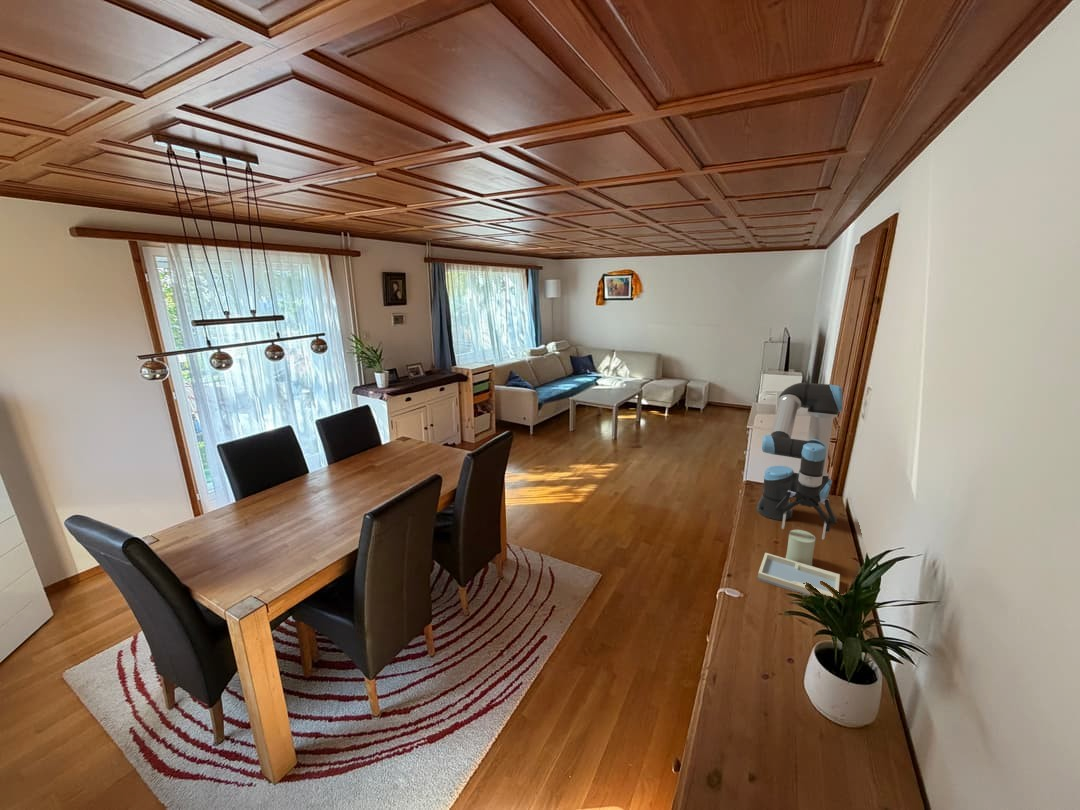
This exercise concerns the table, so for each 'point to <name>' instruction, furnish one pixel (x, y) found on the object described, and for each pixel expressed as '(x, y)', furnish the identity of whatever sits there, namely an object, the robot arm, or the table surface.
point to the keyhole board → (796, 575)
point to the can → (801, 547)
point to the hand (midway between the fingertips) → (802, 532)
